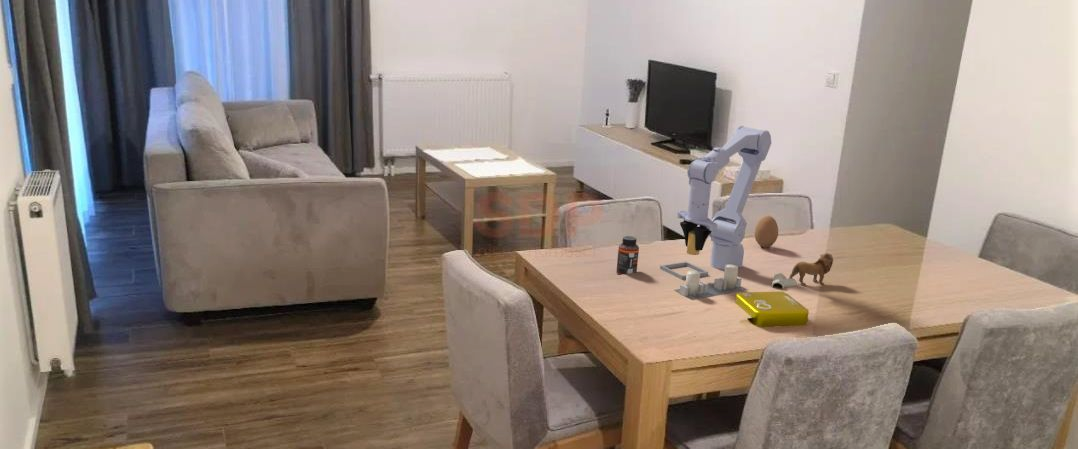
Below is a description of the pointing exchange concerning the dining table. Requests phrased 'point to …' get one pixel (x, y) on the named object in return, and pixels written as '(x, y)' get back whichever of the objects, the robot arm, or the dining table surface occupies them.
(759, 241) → the egg
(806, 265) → the lion figurine
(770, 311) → the element tile
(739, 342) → the dining table surface
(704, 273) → the grey tray
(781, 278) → the pipe fitting
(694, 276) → the cream fuse
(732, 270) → the cream fuse
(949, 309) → the dining table surface
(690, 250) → the cylinder
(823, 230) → the dining table surface
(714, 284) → the fuse block
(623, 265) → the supplement bottle
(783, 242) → the dining table surface
